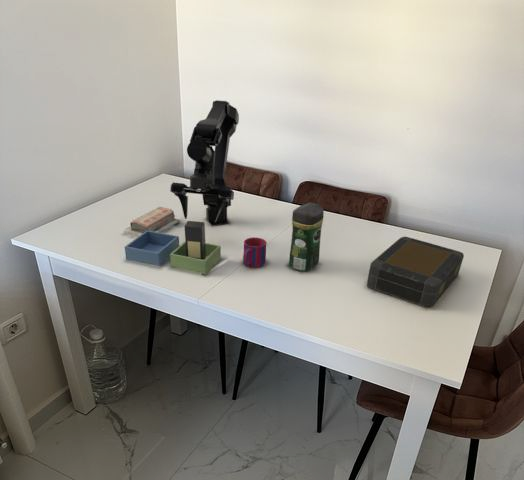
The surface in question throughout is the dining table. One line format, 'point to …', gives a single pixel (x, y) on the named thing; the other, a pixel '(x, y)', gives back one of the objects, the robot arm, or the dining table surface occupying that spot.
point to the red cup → (254, 252)
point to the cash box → (415, 271)
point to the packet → (195, 240)
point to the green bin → (194, 264)
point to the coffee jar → (306, 236)
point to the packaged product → (152, 222)
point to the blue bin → (151, 248)
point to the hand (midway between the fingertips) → (200, 220)
